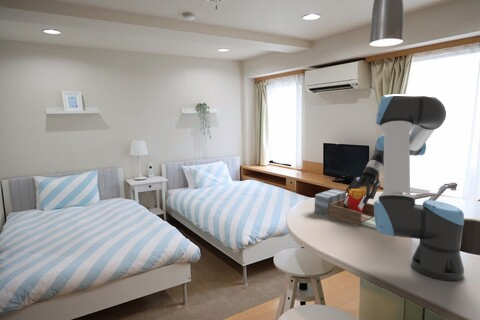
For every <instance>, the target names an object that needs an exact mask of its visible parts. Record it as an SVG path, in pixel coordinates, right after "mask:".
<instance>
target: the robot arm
mask: <svg viewBox="0 0 480 320" xmlns="http://www.w3.org/2000/svg"><path fill="white" fill-rule="evenodd" d="M446 118H447V110H446V108H445V105H444V103H443V102H442V101H441V100H439V99H438V98H437V97H435V96H433V95H431V94H426V93H425V94H424V93H423V94H422V93H421V94H419V93H418V94H416V93H415V94H394V93H393V94H384V95H382V96H381V98H380V100H379V104H378V108H377V113H376V118H375V125H377V126H379V130H380V131H381V132H383V133H384V134H382V135H380V136H378V138H377V139H376V141H375V144H374V145H375V146H374V150H373V153H372V155H371V158H370V159H369V161H368V162H367V164H366V166H365V168H364V170H363V171H362V173H361V175H360V176H358V177H357V175H355V176H354V177H353V180H352V181H351V182H350V183H349V185H348V187H346V189H345V192H346V200H345V202H344V204H345V205H346V206H348V204H349V199H348V194H349V189H350V191H351V189H357V188H358V189H361V188H363V187H364V186H365V187H366V189H365V190H366V191H367V193H366V195H365V196H364V197H363V198H362V200H361V202H360V204H359V206H358V208H359V209H360V210H362V208H363V206H364V204H367V203H369V200H374V199H375V196H376V193H377V191H378V189H379V187H380V186H381V181H380V180H378V178H379V177H380V174H381V172H382V171H383V182H382V183H383V186H382V187H383V188H382V189H383V192H382V193H381V194H380V195H379V196H378V200H376V201H374V202H373V204H374V218H375V224H376V228H377V230H376V231H377V232H378V233H379V234H380V235H384V236H390V237H399V238H408V239H415V240H416V239H417V240H419V244H418V246H417V247H416V250H415V251H414V254H413V255H412V257H411V266H412V267H413V269H415V271H416V272H418V273H420V274H423V275H425V276H427V277H429V278H432V279H435V280H439V281H440V280H441V281H446V282H447V281H448V282H449V281H450V282H454V281H455V282H456V281H460V280H462V279H463V278H464V275H465V266H464V263H463V260H462V256H461V252H460V251H461V246H462V238H463V231H464V226H465V214H464V211H463V210H462V209H460V208H459V207H457V206H455V205H453V204H450V203H446V202H442V201H439V200H431V199H427V200H424V201H423V202H422V204H416V198H415V197H414V196H413V195H412V194H411V184H410V183H411V175H410V174H411V172H410V171H411V170H410V169H411V167H410V166H411V164H410V163H411V157H410V156H413V157H414V156H415V157H417V156H423V155H425V154H426V152H427V151H426V150H427V141H428V139H429V138H430V137H431V135H432V134H433V132H435V130H437V129H439V128H440V127H441V126H442V125H443V124H444V122H445V120H446Z"/></svg>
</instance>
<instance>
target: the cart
mask: <svg viewBox="0 0 480 320" xmlns="http://www.w3.org/2000/svg"><path fill="white" fill-rule="evenodd" d="M346 196H347V191H346V190H345V191H344V190H339V189H334V188H332V189H329V190H325V191H323V192H318V193H316V194H315V196H314V213H315V214H318V215H321V216H324V217H325V216H326V217H328V218H332V219H334V220H335V219H336V220H339V221H342V222H345V223H349V224H351V225H356V226H359V227H364V228H367V229H370V230H373V231H374V230H375V231H378V230H377V228H376V224H375V218H374V203H371V202H370V203H369V202H367V204H364V207H363V212H358V211H354V210H350V209H349V204H348V206H346V205H345V204H344V202H345V200H346Z"/></svg>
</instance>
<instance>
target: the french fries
mask: <svg viewBox="0 0 480 320" xmlns="http://www.w3.org/2000/svg"><path fill="white" fill-rule="evenodd" d="M366 193H367V191H366V189H363V188H359V189H358V188H357V189H351V191H350V189H349V194H348V193H347V194H348V199H349V209H350V210H354V211H358V212H363V208H362V210H360V209H359V208H358V206H359V204H360V202H361V200H362V198H363V197H364V196H365V195H366ZM365 197H366V196H365ZM363 207H364V206H363Z"/></svg>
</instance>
